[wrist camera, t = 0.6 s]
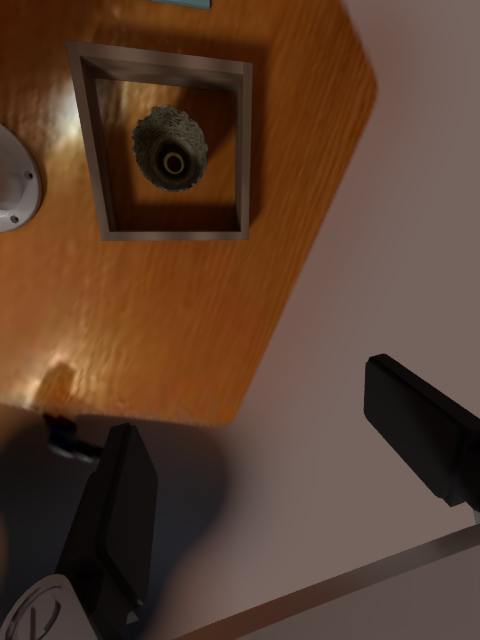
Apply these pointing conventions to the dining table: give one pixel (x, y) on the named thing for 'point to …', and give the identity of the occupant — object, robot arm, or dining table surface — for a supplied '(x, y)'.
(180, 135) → the dark rounded piece
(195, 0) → the light blue square plate
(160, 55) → the grey square frame
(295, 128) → the dining table surface
